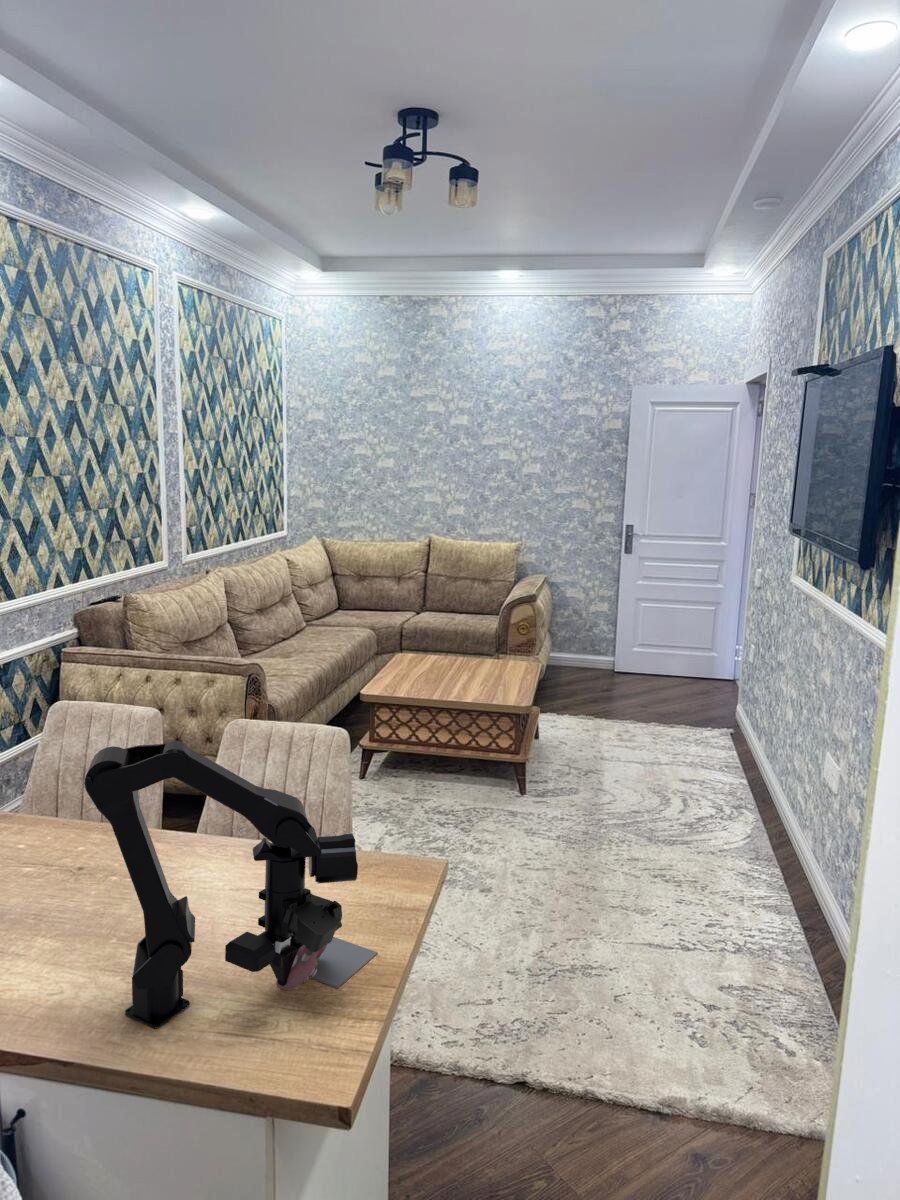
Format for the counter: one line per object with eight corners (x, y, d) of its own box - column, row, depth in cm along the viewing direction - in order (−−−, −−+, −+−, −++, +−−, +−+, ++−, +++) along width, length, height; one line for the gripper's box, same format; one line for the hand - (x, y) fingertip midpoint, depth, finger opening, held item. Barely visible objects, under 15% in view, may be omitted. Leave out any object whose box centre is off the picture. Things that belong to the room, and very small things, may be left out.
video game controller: (298, 1004, 126) (318, 969, 124) (272, 988, 126) (292, 952, 125) (319, 965, 135) (338, 932, 134) (295, 950, 136) (314, 917, 134)
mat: (337, 988, 128) (337, 987, 128) (266, 960, 134) (266, 959, 134) (377, 953, 137) (378, 952, 137) (309, 929, 144) (309, 928, 144)
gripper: (285, 926, 112) (282, 1036, 113) (367, 875, 128) (363, 972, 130) (223, 903, 117) (221, 1009, 119) (309, 857, 133) (306, 951, 135)
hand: (282, 984), depth 125 cm, fingers closed
